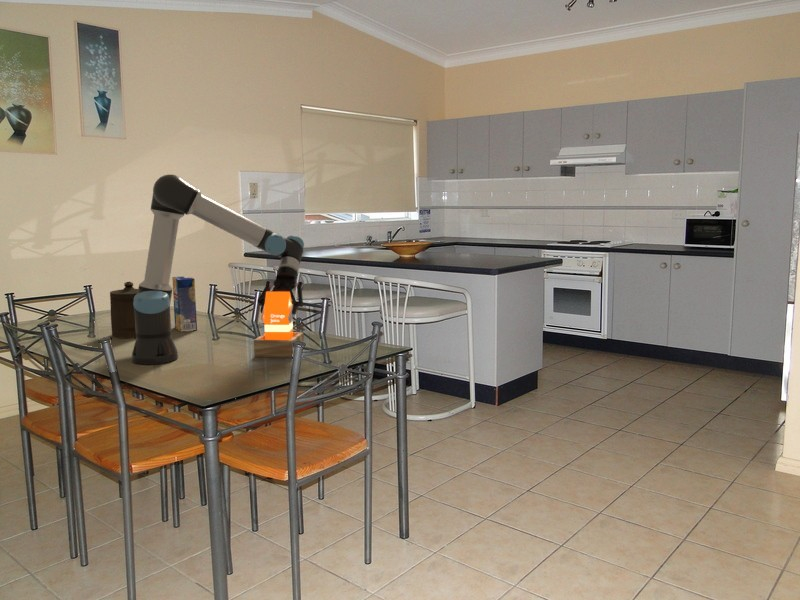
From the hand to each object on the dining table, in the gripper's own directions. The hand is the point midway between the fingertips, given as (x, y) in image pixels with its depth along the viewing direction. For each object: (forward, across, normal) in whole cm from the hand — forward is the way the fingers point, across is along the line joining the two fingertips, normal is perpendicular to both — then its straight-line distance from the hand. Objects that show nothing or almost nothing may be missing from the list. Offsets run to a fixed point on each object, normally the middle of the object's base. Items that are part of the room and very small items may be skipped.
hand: (275, 320), depth 241 cm
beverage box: (-19, +53, -37) cm, 67 cm away
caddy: (+6, 0, -11) cm, 13 cm away
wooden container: (-9, +70, -27) cm, 75 cm away
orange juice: (+5, 0, -9) cm, 11 cm away
